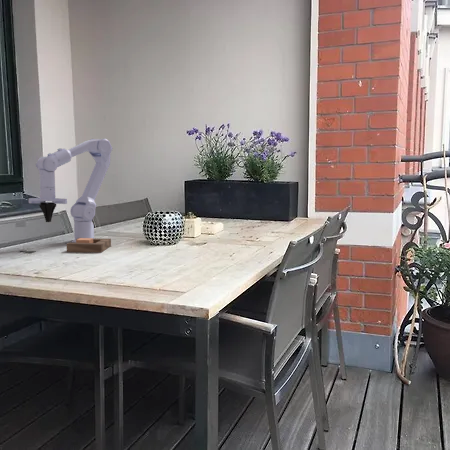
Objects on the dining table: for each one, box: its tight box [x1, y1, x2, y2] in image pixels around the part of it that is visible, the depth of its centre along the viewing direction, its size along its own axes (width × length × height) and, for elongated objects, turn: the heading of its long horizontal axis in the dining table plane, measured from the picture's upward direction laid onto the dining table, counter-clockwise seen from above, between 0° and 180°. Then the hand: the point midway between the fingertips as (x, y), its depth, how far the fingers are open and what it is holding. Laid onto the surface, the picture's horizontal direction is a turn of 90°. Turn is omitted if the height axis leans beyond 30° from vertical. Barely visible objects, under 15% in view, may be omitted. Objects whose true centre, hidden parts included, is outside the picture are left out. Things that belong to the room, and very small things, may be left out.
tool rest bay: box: [66, 237, 112, 254], centre depth 197 cm, size 14×13×3 cm
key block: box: [75, 238, 93, 243], centre depth 197 cm, size 5×5×4 cm
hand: (48, 221), depth 202 cm, fingers closed
